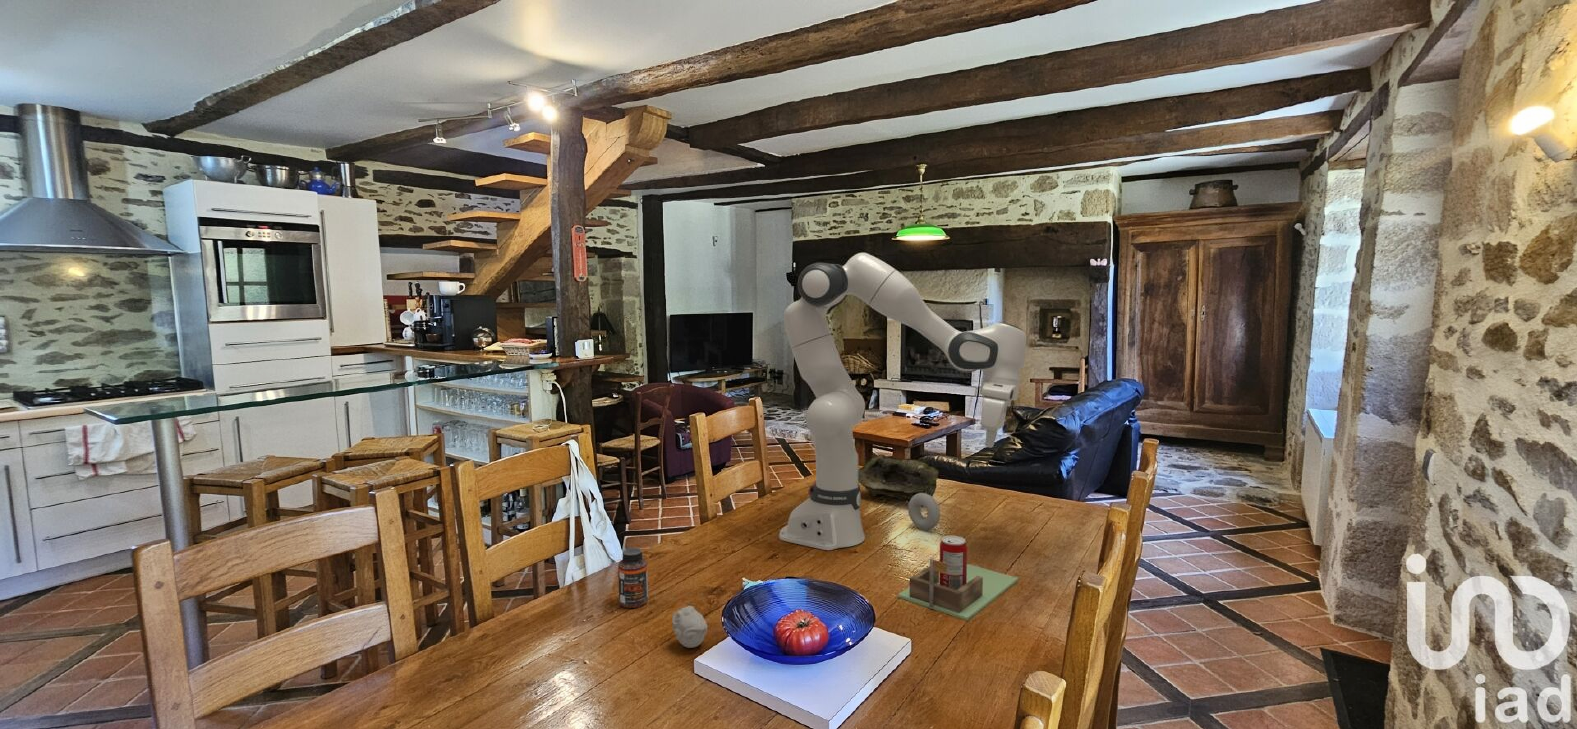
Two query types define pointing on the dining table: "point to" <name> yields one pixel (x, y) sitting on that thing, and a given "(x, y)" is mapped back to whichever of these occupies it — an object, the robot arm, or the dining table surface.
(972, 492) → the dining table surface
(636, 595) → the supplement bottle
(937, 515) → the donut
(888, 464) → the hollow geode rock
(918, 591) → the pocket
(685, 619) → the frog figurine
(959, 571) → the soda can
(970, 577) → the felt mat
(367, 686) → the dining table surface
